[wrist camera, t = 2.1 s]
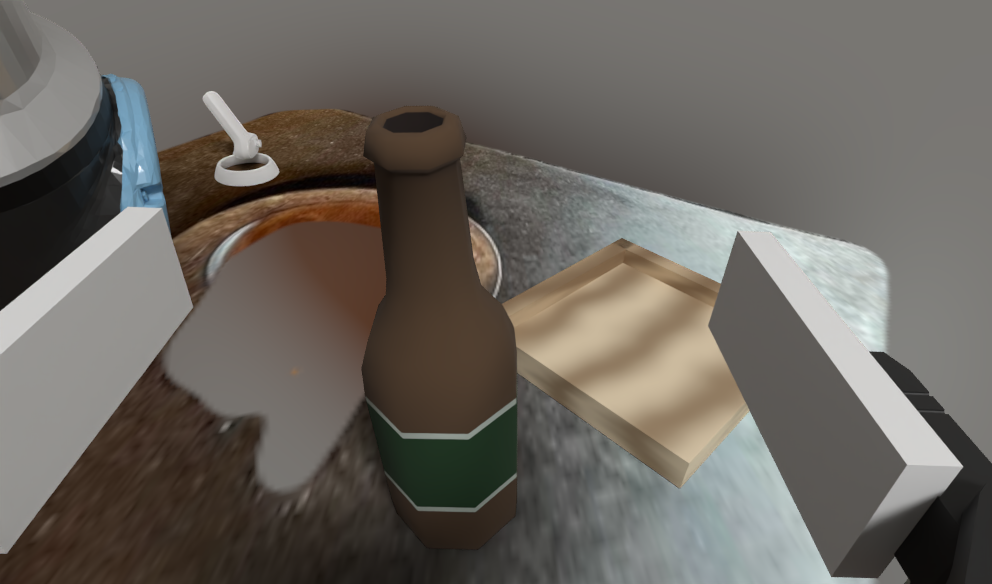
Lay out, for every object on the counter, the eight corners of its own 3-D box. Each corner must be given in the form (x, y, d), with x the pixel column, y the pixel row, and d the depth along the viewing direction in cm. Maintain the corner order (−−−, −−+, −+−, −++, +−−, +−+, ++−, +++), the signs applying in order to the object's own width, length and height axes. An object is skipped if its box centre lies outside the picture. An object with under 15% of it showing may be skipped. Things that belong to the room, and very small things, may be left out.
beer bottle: (542, 530, 33) (561, 143, 18) (412, 579, 31) (311, 190, 16) (496, 429, 39) (481, 69, 24) (383, 464, 37) (289, 98, 22)
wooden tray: (486, 350, 47) (487, 311, 45) (614, 272, 58) (621, 238, 55) (679, 488, 37) (695, 447, 35) (792, 362, 48) (810, 325, 45)
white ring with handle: (187, 118, 74) (228, 86, 72) (251, 195, 78) (291, 167, 77) (157, 124, 67) (202, 90, 66) (229, 209, 71) (272, 178, 70)
